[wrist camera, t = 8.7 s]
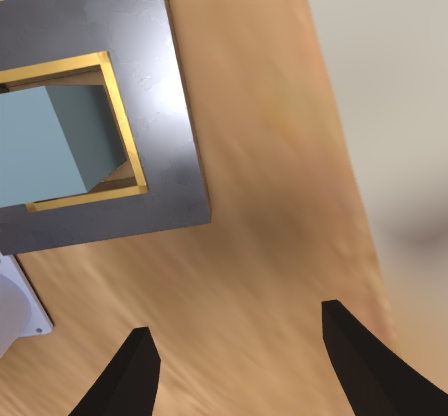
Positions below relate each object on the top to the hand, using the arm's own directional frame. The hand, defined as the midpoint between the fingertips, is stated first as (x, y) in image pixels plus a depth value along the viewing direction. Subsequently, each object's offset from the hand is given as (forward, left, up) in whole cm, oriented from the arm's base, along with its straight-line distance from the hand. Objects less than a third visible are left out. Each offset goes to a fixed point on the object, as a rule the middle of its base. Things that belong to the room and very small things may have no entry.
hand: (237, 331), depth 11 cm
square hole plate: (-8, +8, -9) cm, 15 cm away
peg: (-8, +8, -10) cm, 15 cm away
